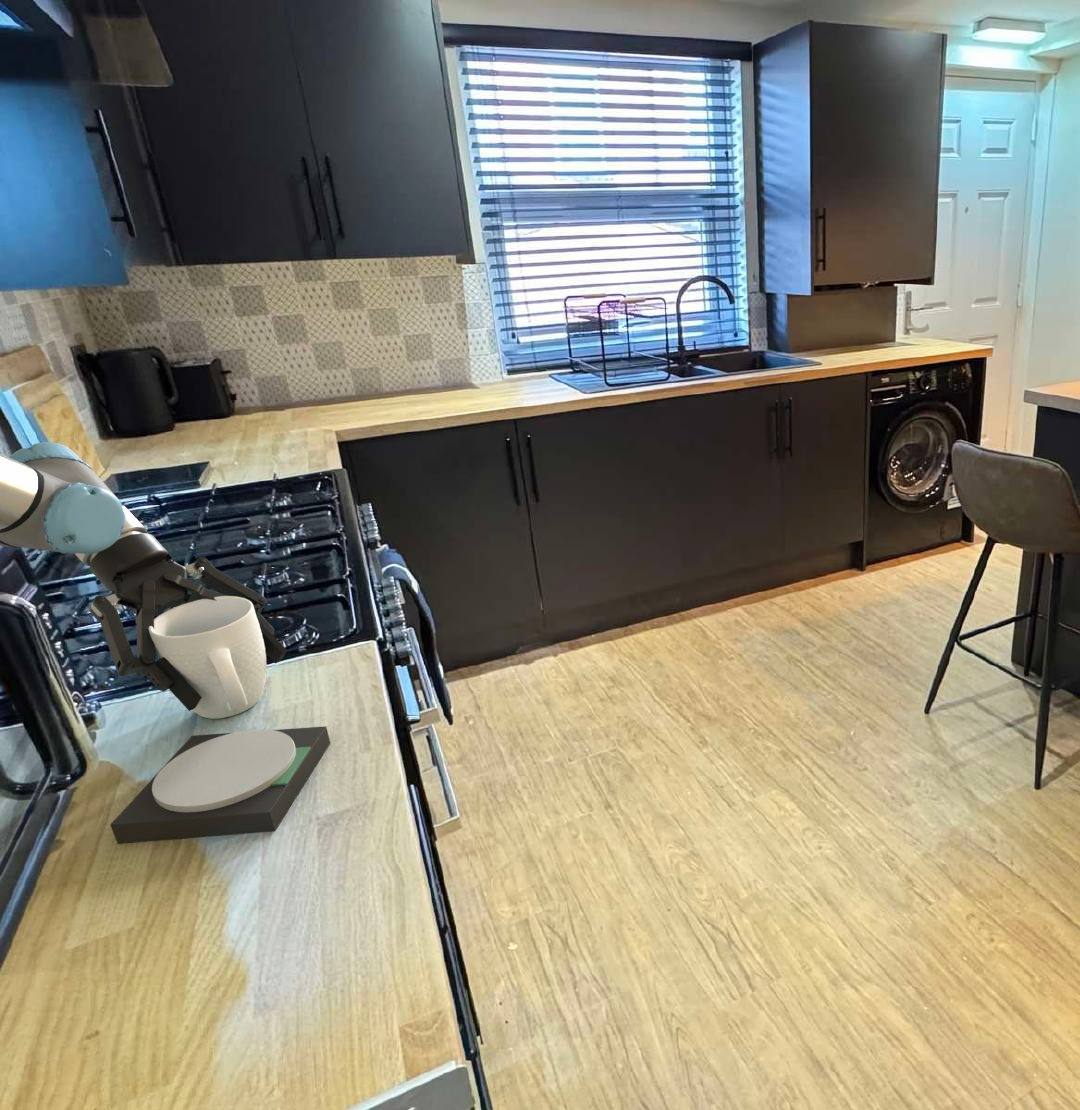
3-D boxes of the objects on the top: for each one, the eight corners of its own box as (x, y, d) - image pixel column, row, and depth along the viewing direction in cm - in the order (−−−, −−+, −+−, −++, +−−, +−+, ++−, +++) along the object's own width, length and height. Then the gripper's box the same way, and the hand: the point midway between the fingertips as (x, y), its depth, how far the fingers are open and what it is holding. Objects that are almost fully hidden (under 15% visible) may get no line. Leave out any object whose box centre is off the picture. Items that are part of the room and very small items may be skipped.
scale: (117, 843, 78) (107, 818, 76) (197, 752, 91) (190, 729, 90) (275, 831, 79) (267, 805, 78) (330, 743, 93) (324, 720, 92)
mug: (298, 718, 98) (272, 626, 93) (196, 756, 91) (162, 659, 86) (265, 672, 108) (241, 587, 103) (171, 703, 101) (140, 614, 96)
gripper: (15, 569, 85) (154, 716, 86) (217, 503, 105) (328, 623, 106) (4, 605, 89) (137, 746, 90) (201, 535, 109) (308, 650, 110)
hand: (240, 679), depth 98 cm, fingers closed on mug, 11 cm apart
